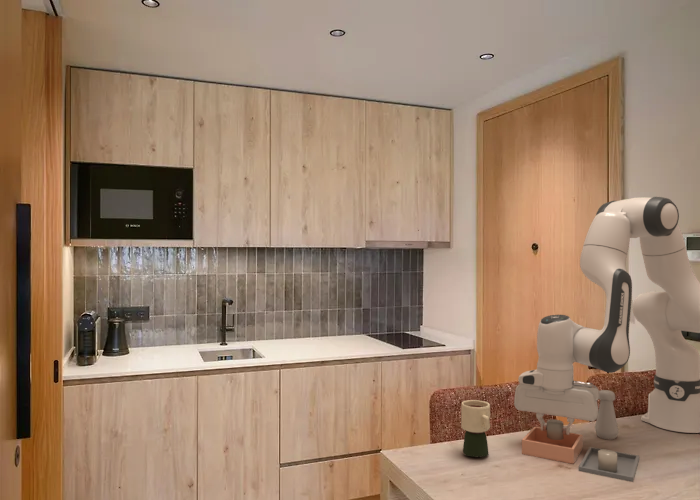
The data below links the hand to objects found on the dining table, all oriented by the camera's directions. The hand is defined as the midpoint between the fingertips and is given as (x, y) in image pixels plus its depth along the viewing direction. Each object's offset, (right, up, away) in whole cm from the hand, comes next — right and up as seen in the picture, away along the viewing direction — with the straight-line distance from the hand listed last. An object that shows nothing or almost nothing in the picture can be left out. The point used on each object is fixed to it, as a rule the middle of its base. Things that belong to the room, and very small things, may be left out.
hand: (555, 432), depth 141 cm
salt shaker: (+17, -5, +8) cm, 20 cm away
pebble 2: (+7, -4, -14) cm, 16 cm away
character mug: (-21, -5, -4) cm, 22 cm away
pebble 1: (0, -1, 0) cm, 1 cm away
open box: (-1, -5, -2) cm, 5 cm away
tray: (+9, -5, -11) cm, 15 cm away
